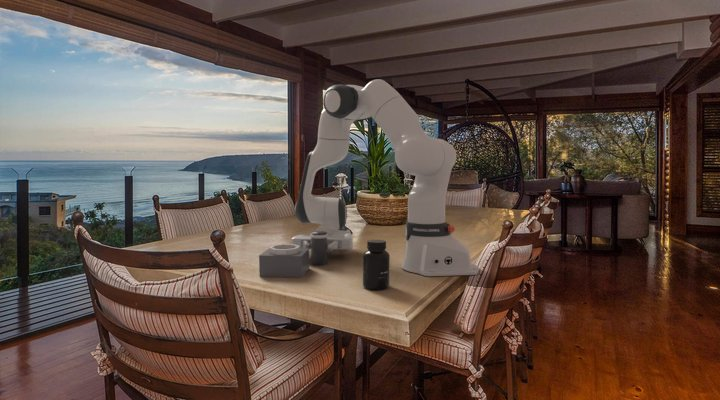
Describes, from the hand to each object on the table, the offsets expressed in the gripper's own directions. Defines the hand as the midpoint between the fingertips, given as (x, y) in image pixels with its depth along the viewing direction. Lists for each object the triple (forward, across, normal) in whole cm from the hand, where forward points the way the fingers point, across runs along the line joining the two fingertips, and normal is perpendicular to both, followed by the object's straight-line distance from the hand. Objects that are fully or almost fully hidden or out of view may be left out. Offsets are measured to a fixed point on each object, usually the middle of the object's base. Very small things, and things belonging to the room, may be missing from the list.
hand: (318, 246), depth 132 cm
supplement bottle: (+22, +19, +6) cm, 30 cm away
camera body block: (+10, -8, +6) cm, 14 cm away
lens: (-1, 0, +6) cm, 6 cm away
